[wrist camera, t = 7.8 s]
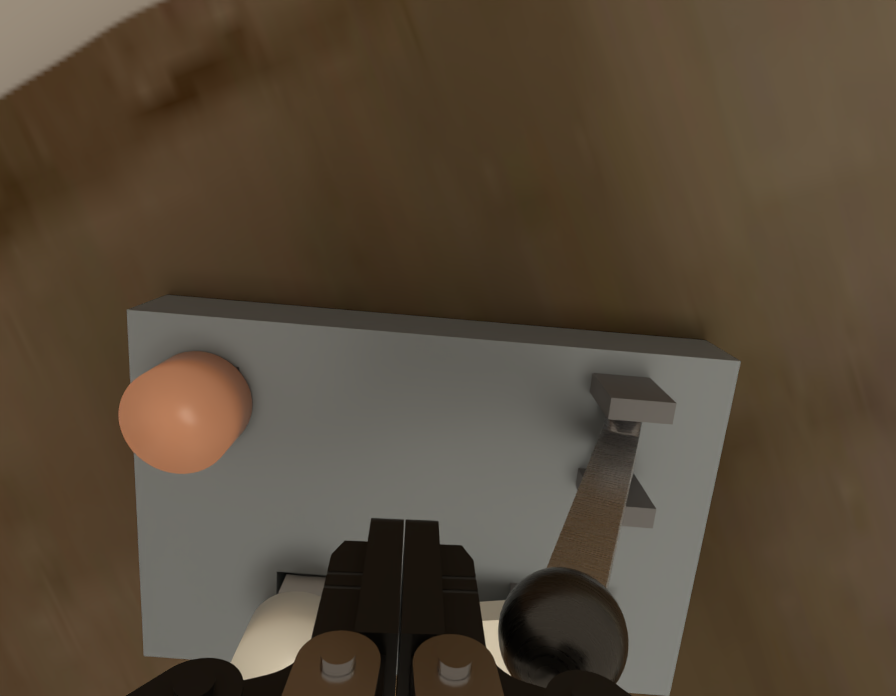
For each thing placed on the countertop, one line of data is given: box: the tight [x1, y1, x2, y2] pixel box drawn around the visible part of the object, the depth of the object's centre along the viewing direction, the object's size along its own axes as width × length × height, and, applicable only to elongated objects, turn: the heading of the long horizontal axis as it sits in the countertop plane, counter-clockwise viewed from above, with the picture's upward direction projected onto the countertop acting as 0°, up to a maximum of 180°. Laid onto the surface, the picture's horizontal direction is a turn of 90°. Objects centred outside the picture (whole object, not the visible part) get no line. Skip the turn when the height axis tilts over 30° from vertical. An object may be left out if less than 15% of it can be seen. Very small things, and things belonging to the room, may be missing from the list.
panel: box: [127, 295, 741, 696], centre depth 23 cm, size 21×14×6 cm, turn 85°
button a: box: [119, 351, 252, 474], centre depth 21 cm, size 4×4×4 cm
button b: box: [231, 574, 326, 680], centre depth 22 cm, size 4×4×4 cm
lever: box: [498, 415, 642, 688], centre depth 16 cm, size 2×2×12 cm
